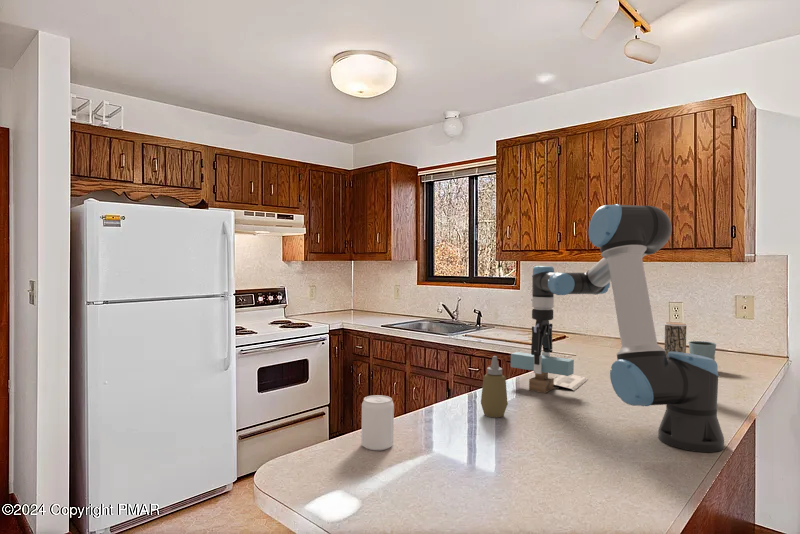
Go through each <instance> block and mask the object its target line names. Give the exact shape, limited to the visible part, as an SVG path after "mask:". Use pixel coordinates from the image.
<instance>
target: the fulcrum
mask: <svg viewBox="0 0 800 534" xmlns="http://www.w3.org/2000/svg"><path fill="white" fill-rule="evenodd" d="M534 374H535V375H534V376H533V377H532V378H529V380H528V381H529V382H528V383H529V384H528V390H529V391H531V392H537V393H544V394H546V393H548V392H549V391H552V390H554V378H553V377H551V376H549V373H546V372H542V374H537V373H534Z"/></svg>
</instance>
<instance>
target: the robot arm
mask: <svg viewBox="0 0 800 534" xmlns="http://www.w3.org/2000/svg"><path fill="white" fill-rule="evenodd" d="M672 231H673V227H672V222H671V219H670V217H669V216H668V214H667V213H666V212H665V211H664V210H662V209H661V208H659V207H656V206H654V205H637V204H636V205H633V204H631V205H630V204H619V203H615V204H604V205H602V206H600V207H598V208H597V209H596V211H595V212H594V213H593V215H592V216H591V219H590V221H589V226H588V239H589V241H590V243H591V245H592V246H594V247H597V248H599V250H600V256H601V257H602V258H601V259H600V260H599V261H598V262H597V263H595V264H594V265H593V266H591V268H589V269H588V270H586V272H559V271H558V272H557V271H556V272H555V268H554V267H553V266H549V265H536V266H534V267H533V268H532V275H531V276H532V277H531V278H532V283H531V284H532V287H531V288H532V298H531V303H532V304H531V307H532V309H531V319H533V320H535V325H533V326H531V348H530V354H531V355H534V371H533V374H535V373H537V374H542V356H541V355H544V356H551V353H553V352H554V351H553V324H554V323H551V322H550V321H552V320H554V310H553V308H554V307H555V305H554V304H555V301H554V300H555V296H554V295H556V296H567V295H602V294H606V293H608V291H609V288H610V286H611V287H612V294H613V301H614V305H615V306H614V307H615V313H616V319H617V326H618V333H619V338H620V345H621V348H620V349H619V350H618V352H617V353H616V359H617V360H615V361H614V362H613V363H612V365H611V367H610V368H611V370H610V371H609V376H610V377H609V378H610V383H611V386H612V388H613V390H614V392H615V394H616V396H617V397H618V398H619V399H620V400H621V401H622V402H623V403H624V404H627V405H629V406H632V407H633V406H634V407H635V406H638V407H649V406H664V405H665V406H666V407H665V411H664V414H663V416H662V420H661V421H660V424H659V425H658V426H659V427H658V430H657V431H658V435H657V436H658V437H657V438H658V439H659V440H660V441H661V442H662V443H664V444H667V445H668V446H671V447H674V448H677V449H681V450H686V451H690V452H691V451H692V452H698V453H699V452H700V453H716V452H720V451H722V450H725V449H724V448H725V437H724V434H723V431H722V427H721V424H720V422H719V419H718V389H719V377H720V376H719V373H718V372H719V371H718V370H719V369H718V363H717V361H716V360H713V359H711V358H708V357H704V356H699V355H694V354H690V352H689V353H688V352H686V353H682V352H674V351H670V352H668V354H667V358H666V353H665V350H664V348H663V347H661V346H660V345H659V344H658V341H657V335H656V329H655V323H654V322H655V321H654V319H653V312H652V311H653V310H652V306H651V301H650V295H649V288H648V285H647V284H648V283H647V278H646V273H645V272H646V271H645V267H644V262H643V258H644V257H645V256H646V255H647V256H649V255H653V254H655V253H657V252H659V250H661V249H662V248H663V247H664V246H665V245H666V244H667V243H668V242H669V240H670V237H671V236H672Z"/></svg>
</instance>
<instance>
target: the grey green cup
mask: <svg viewBox="0 0 800 534" xmlns="http://www.w3.org/2000/svg"><path fill="white" fill-rule="evenodd" d="M716 347H717V344H716V343H715V342H710V341H704V340H703V341H702V340H701V341H700V340H699V341H698V340H694V341H689V342H688V350H689V354H694V355H699V356H704V357H708V358H711V359H713V360H715V359H716V357H715V355H716V349H717V348H716ZM715 361H716V360H715Z"/></svg>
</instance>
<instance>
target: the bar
mask: <svg viewBox="0 0 800 534" xmlns="http://www.w3.org/2000/svg"><path fill="white" fill-rule="evenodd" d="M541 356H542V372H546V373H548V374H553V375H565V376H569V375H574V367H575V365H574V364H575V363H574V361H575V360H574V359H572V358H564V357H559V356H551V355H550V356H544V355H542V354H541ZM510 368H515V369H521V370H528V371H533V372H534V355H531V353H527V352H520V351H515V352H513V353H512V352H511V353H510Z"/></svg>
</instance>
